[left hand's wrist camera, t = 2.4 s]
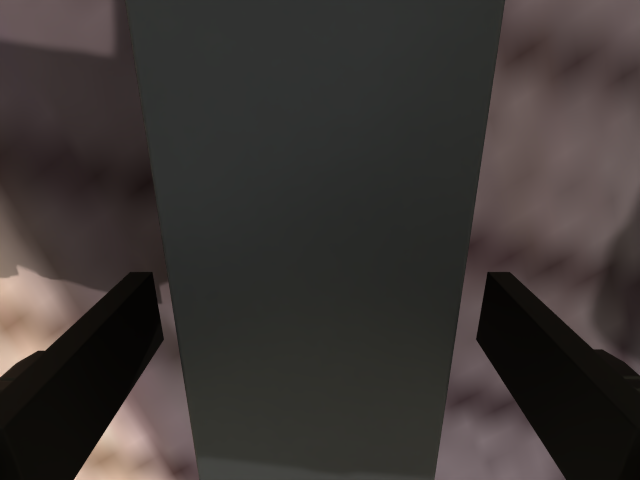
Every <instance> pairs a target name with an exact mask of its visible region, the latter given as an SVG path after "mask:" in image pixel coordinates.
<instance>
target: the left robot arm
mask: <svg viewBox="0 0 640 480" xmlns="http://www.w3.org/2000/svg"><path fill="white" fill-rule="evenodd" d="M163 340H164V338H163V332H162V326H161V320H160V314H159V308H158V302H157V297H156V291H155V285H154V279H153V273H152V272H130V273H129V274H128V275H127V276H125V277H124V278H123V279H122V280H121V281H120V282H119V283H118V284H117V285H116V286H115V287H114V288H113V289H111V290H110V291H109V292H108V293H107V294H106V295H105V296H104V297H103V298H102V299H101V300H100V301H98V302H97V303H96V304H95V305H94V306H93V307H92V308H91V309H90V310H89V311H88V312H87V313H86V314H84V315H83V316H82V317H81V318H80V319H79V320H78V321H77V322H76V323H75V324H74V325H73V326H71V327H70V328H69V329H68V330H67V331H66V332H65V333H64V334H63V335H62V336H61V337H60V338H59V339H57V340H56V341H55V342H54V343H53V344H52V345H51V346H50V347H49V348H48V349H47V350H46V351H37V352H35V353H33V354H32V355H30V356H28V357H27V358H25V359H23V360H21V361H20V362H18V363H16V364H15V365H14V366H13V367H12V368H10V369H9V370H8V371H7V372H6V373H5V374H4V375H2V376H1V377H0V480H74V479H75V477H76V475H77V474H78V472H79V471H80V469H81V468H82V466H83V464H84V463H85V461H86V460H87V458H88V457H89V455H90V454H91V452H92V450H93V449H94V447H95V446H96V444H97V443H98V441H99V440H100V438H101V436H102V435H103V433H104V432H105V430H106V429H107V427H108V426H109V424H110V422H111V421H112V419H113V418H114V416H115V415H116V413H117V412H118V410H119V408H120V407H121V405H122V404H123V402H124V401H125V399H126V398H127V396H128V394H129V393H130V391H131V390H132V388H133V387H134V385H135V384H136V382H137V380H138V379H139V377H140V376H141V374H142V373H143V371H144V370H145V368H146V366H147V365H148V363H149V362H150V360H151V359H152V357H153V356H154V354H155V352H156V351H157V349H158V348H159V346H160V345H161V343H162V342H163ZM476 340H477V342H478V343H479V345H480V346H481V348H482V349H483V351H484V352H485V354H486V356H487V357H488V359H489V360H490V362H491V363H492V365H493V366H494V368H495V370H496V371H497V373H498V374H499V376H500V377H501V379H502V380H503V382H504V384H505V385H506V387H507V388H508V390H509V391H510V393H511V394H512V396H513V398H514V399H515V401H516V402H517V404H518V405H519V407H520V408H521V410H522V412H523V413H524V415H525V416H526V418H527V419H528V421H529V422H530V424H531V426H532V427H533V429H534V430H535V432H536V433H537V435H538V436H539V438H540V440H541V441H542V443H543V444H544V446H545V447H546V449H547V451H548V452H549V454H550V455H551V457H552V458H553V460H554V461H555V463H556V465H557V466H558V468H559V469H560V471H561V472H562V474H563V475H564V477H565V479H566V480H640V375H638V374H637V373H636V372H635V371H634V370H633V369H632V368H630V367H629V366H628V365H627V364H626V363H625V362H623V361H621V360H620V359H618V358H616V357H614V356H613V355H611V354H609V353H607V352H606V351H604V350H593V349H592V348H591V347H590V346H589V345H588V344H587V343H586V342H585V341H584V340H583V339H581V338H580V337H579V336H578V335H577V334H576V333H575V332H574V331H573V330H572V329H571V328H570V327H569V326H567V325H566V324H565V323H564V322H563V321H562V320H561V319H560V318H559V317H558V316H557V315H556V314H554V313H553V312H552V311H551V310H550V309H549V308H548V307H547V306H546V305H545V304H544V303H543V302H542V301H540V300H539V299H538V298H537V297H536V296H535V295H534V294H533V293H532V292H531V291H530V290H529V289H527V288H526V287H525V286H524V285H523V284H522V283H521V282H520V281H519V280H518V279H517V278H516V277H515V276H513V275H512V274H511V273H510V272H488V273H487V279H486V285H485V291H484V296H483V302H482V308H481V314H480V320H479V326H478V332H477V338H476Z"/></svg>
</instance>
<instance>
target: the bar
mask: <svg viewBox="0 0 640 480" xmlns="http://www.w3.org/2000/svg"><path fill="white" fill-rule="evenodd" d="M504 3H505V0H125V4H126V11H127V17H128V24H129V30H130V36H131V43H132V49H133V56H134V62H135V69H136V75H137V81H138V88H139V94H140V101H141V107H142V114H143V120H144V126H145V133H146V139H147V146H148V152H149V159H150V165H151V171H152V178H153V184H154V191H155V197H156V204H157V210H158V216H159V223H160V229H161V236H162V242H163V249H164V255H165V261H166V268H167V274H168V281H169V287H170V294H171V300H172V306H173V313H174V319H175V326H176V332H177V339H178V345H179V351H180V358H181V364H182V371H183V377H184V384H185V390H186V396H187V403H188V409H189V416H190V422H191V429H192V435H193V442H194V448H195V454H196V461H197V467H198V474H199V480H434V478H435V472H436V465H437V458H438V451H439V444H440V438H441V431H442V424H443V417H444V410H445V404H446V397H447V390H448V383H449V377H450V370H451V363H452V356H453V349H454V343H455V336H456V329H457V322H458V315H459V309H460V302H461V295H462V288H463V282H464V275H465V268H466V261H467V254H468V248H469V241H470V234H471V227H472V220H473V214H474V207H475V200H476V193H477V187H478V180H479V173H480V166H481V159H482V153H483V146H484V139H485V132H486V125H487V119H488V112H489V105H490V98H491V92H492V85H493V78H494V71H495V64H496V58H497V51H498V44H499V37H500V30H501V24H502V17H503V10H504Z"/></svg>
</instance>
